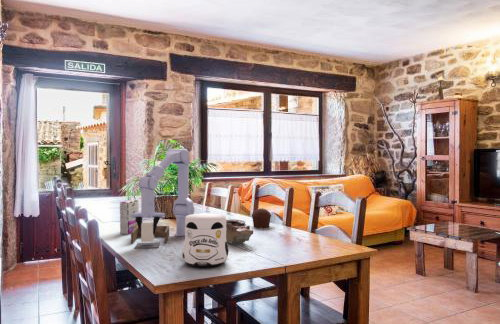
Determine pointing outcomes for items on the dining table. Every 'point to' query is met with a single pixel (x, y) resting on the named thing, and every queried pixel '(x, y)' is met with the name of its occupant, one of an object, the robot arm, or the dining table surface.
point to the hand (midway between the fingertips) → (147, 233)
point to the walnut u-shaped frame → (159, 232)
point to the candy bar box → (128, 216)
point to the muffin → (261, 218)
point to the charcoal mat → (147, 245)
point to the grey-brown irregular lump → (237, 231)
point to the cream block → (147, 232)
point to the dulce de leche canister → (205, 240)
